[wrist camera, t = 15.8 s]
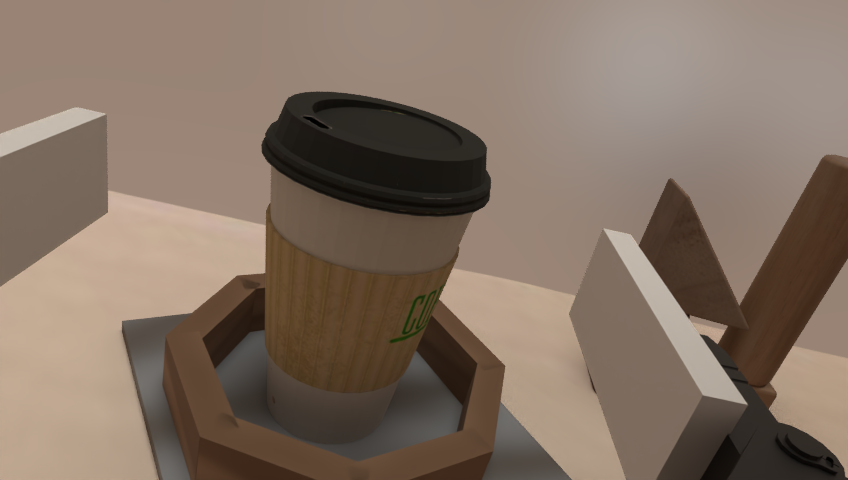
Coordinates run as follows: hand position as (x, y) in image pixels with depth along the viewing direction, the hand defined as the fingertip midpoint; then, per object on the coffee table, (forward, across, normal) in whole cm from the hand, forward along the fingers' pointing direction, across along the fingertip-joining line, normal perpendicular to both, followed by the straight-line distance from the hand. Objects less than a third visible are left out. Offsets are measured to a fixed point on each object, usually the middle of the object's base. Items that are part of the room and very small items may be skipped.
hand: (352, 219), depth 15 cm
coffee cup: (+10, 0, -15) cm, 18 cm away
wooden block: (+18, +22, -16) cm, 32 cm away
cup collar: (+10, 0, -15) cm, 18 cm away
